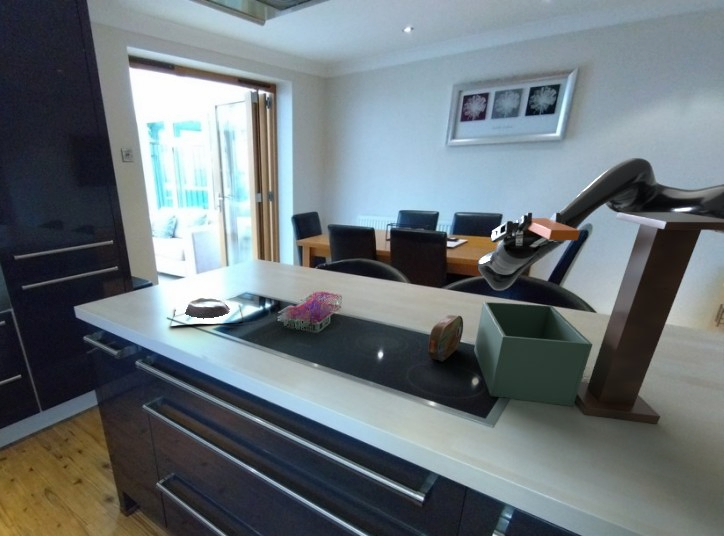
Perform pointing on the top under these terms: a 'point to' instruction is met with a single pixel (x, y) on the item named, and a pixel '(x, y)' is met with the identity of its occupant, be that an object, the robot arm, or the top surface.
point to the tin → (445, 337)
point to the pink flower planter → (311, 310)
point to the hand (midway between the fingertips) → (543, 217)
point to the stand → (641, 313)
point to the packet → (553, 229)
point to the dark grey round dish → (207, 308)
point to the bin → (530, 353)
